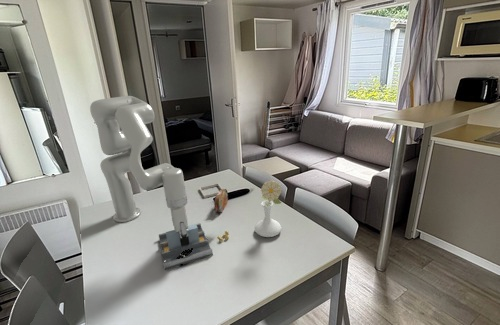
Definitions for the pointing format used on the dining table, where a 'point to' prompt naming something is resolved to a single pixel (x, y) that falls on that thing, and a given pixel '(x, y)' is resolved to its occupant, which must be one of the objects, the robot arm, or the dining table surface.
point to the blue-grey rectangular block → (174, 237)
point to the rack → (197, 253)
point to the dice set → (224, 237)
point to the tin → (221, 200)
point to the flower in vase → (269, 225)
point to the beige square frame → (209, 187)
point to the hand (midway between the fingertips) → (183, 238)
